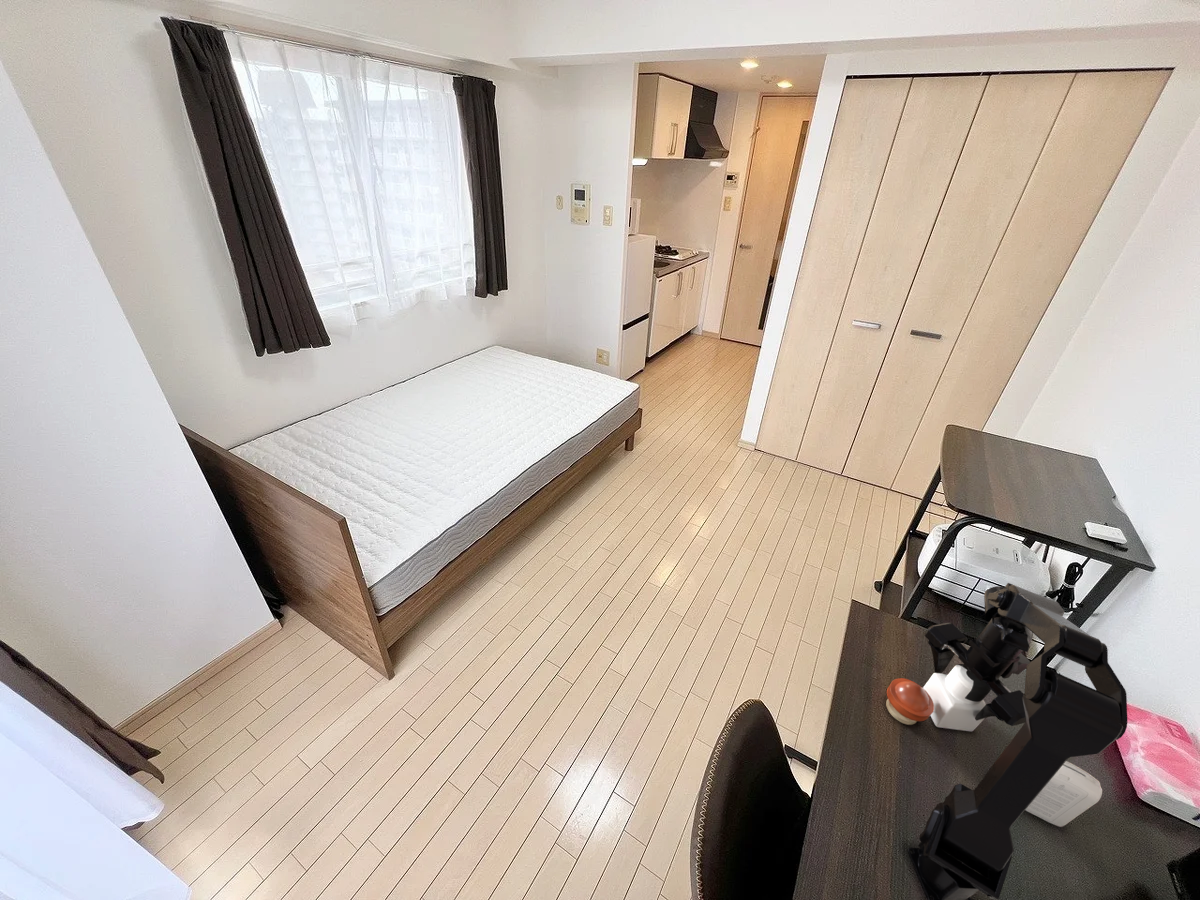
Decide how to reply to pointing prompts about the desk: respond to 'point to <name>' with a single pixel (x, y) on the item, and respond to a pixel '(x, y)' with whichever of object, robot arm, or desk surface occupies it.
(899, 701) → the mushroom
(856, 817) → the desk surface
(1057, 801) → the photo printer
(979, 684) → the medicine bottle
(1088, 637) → the robot arm
